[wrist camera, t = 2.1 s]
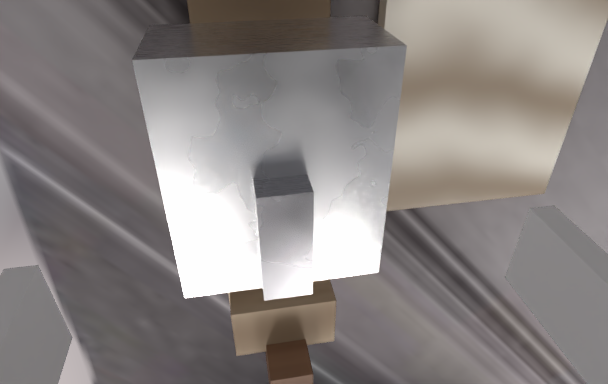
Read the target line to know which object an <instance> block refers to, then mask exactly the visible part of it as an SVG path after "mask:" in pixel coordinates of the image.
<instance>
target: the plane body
mask: <svg viewBox="0 0 608 384" xmlns="http://www.w3.org/2000/svg"><path fill="white" fill-rule="evenodd" d="M330 4H331V0H187V5H188V12H189V19H190V23H212V22H236V21H259V20H282V19H306V18H329V17H330ZM228 295H229V302H230V309H231V320H232V327H233V334H234V341H235V348H236V355H237V356H240V355H246V354H253V353H259V352H265V353H266V361H267V369H268V378H269V384H313V371H312V366H311V362H310V357H309V353H308V348H307V345H311V344H318V343H325V342H331V341H334V335H335V316H336V298H335V295H334V292H333V288H332V285H331V282H330V279H326V280H319V281H313V294H310V295H303V296H295V297H288V298H281V299H273V300H266V301H264V297H263V290H262V288H258V289H250V290H243V291H235V292H228Z"/></svg>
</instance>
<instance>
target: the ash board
mask: <svg viewBox="0 0 608 384" xmlns="http://www.w3.org/2000/svg"><path fill="white" fill-rule="evenodd" d="M607 19H608V0H380V4H379V15H378V25H379V26H381V27H382V28H384V29H385V30H386V31H388V32H389V33H390V34H392V35H393V36H395V37H396V38H397V39H399V40H400V41H402V42H403V43H404V44H406V45H407V50H406V58H405V66H404V74H403V82H402V90H401V98H400V106H399V114H398V122H397V130H396V138H395V146H394V154H393V162H392V170H391V178H390V186H389V194H388V202H387V210H386V211H393V210H402V209H411V208H420V207H429V206H438V205H447V204H456V203H465V202H474V201H483V200H492V199H501V198H510V197H519V196H528V195H537V194H544V193H545V190H546V188H547V185H548V182H549V179H550V177H551V174H552V171H553V168H554V166H555V163H556V160H557V157H558V154H559V152H560V149H561V146H562V143H563V141H564V138H565V135H566V132H567V130H568V127H569V124H570V121H571V119H572V116H573V113H574V110H575V108H576V105H577V102H578V99H579V97H580V94H581V91H582V88H583V86H584V83H585V80H586V77H587V75H588V72H589V69H590V66H591V64H592V61H593V58H594V55H595V52H596V50H597V47H598V44H599V41H600V39H601V36H602V33H603V30H604V28H605V25H606V22H607Z"/></svg>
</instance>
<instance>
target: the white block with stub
mask: <svg viewBox="0 0 608 384" xmlns="http://www.w3.org/2000/svg"><path fill="white" fill-rule="evenodd" d="M406 50H407V45H406V44H404V43H403V42H402V41H400V40H399V39H397V38H396V37H395V36H393V35H392V34H390V33H389V32H388V31H386V30H385V29H384V28H382V27H381V26H379V25H378V24H377V23H375V22H374V21H372V20H371V19H370V18H368V17H367V16H352V17H329V18H306V19H282V20H259V21H236V22H212V23H189V24H166V25H150V26H149V27H148V29H147V31H146V33H145V35H144V37H143V39H142V41H141V43H140V45H139V47H138V49H137V51H136V53H135V55H134V57H133V59H132V63H133V67H134V72H135V76H136V81H137V85H138V90H139V94H140V99H141V103H142V108H143V112H144V117H145V121H146V126H147V130H148V135H149V139H150V144H151V148H152V153H153V157H154V162H155V166H156V171H157V175H158V180H159V184H160V189H161V193H162V198H163V203H164V207H165V212H166V216H167V221H168V225H169V230H170V234H171V239H172V243H173V248H174V252H175V257H176V261H177V266H178V270H179V275H180V279H181V284H182V288H183V293H184V297H185V298H190V297H197V296H205V295H213V294H220V293H228V292H235V291H243V290H250V289H258V288H262V290H263V297H264V301H266V300H273V299H281V298H288V297H295V296H303V295H310V294H313V281H319V280H326V279H334V278H341V277H349V276H357V275H364V274H372V273H379V266H380V258H381V250H382V242H383V234H384V226H385V218H386V210H387V202H388V194H389V186H390V178H391V170H392V162H393V154H394V146H395V138H396V130H397V122H398V114H399V106H400V98H401V90H402V82H403V74H404V66H405V58H406Z"/></svg>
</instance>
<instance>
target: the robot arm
mask: <svg viewBox="0 0 608 384" xmlns="http://www.w3.org/2000/svg"><path fill="white" fill-rule="evenodd" d="M505 278H506V279H507V281H508V282H509V283H510V284H511V286H512V287H513V288H514V290H515V291H516V292H517V294H518V295H519V296H520V297H521V299H522V300H523V301H524V303H525V304H526V305H527V307H528V308H529V309H530V310H531V312H532V313H533V314H534V316H535V317H536V318H537V320H538V321H539V322H540V323H541V325H542V326H543V327H544V329H545V330H546V331H547V333H548V334H549V335H550V336H551V338H552V339H553V340H554V342H555V343H556V344H557V346H558V347H559V348H560V349H561V351H562V352H563V353H564V355H565V356H566V357H567V359H568V360H569V361H570V362H571V364H572V365H573V366H574V368H575V369H576V370H577V372H578V373H579V374H580V375H581V377H582V378H583V379H584V381H585V382H586V383H587V384H608V254H607V253H606V252H605V251H604V250H603V249H601V248H600V247H599V246H598V245H597V244H596V243H595V242H594V241H593V240H592V239H590V238H589V237H588V236H587V235H586V234H585V233H584V232H583V231H582V230H580V229H579V228H578V227H577V226H576V225H575V224H574V223H573V222H572V221H571V220H569V219H568V218H567V217H566V216H565V215H564V214H563V213H562V212H561V211H559V210H558V209H557V208H556V207H555V206H547V207H538V208H530V210H529V212H528V215H527V218H526V221H525V223H524V226H523V229H522V232H521V234H520V237H519V240H518V243H517V245H516V248H515V251H514V254H513V257H512V259H511V262H510V265H509V268H508V270H507V273H506V276H505ZM71 340H72V336H71V334H70V332H69V329H68V327H67V325H66V323H65V321H64V319H63V317H62V315H61V312H60V310H59V308H58V306H57V304H56V302H55V300H54V298H53V296H52V293H51V291H50V289H49V287H48V285H47V283H46V281H45V279H44V277H43V274H42V272H41V270H40V268H39V266H38V265H36V266H26V267H17V268H10V269H4V270H3V272H2V273H1V275H0V384H58V382H59V379H60V375H61V372H62V369H63V366H64V362H65V359H66V356H67V353H68V350H69V346H70V343H71Z"/></svg>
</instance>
